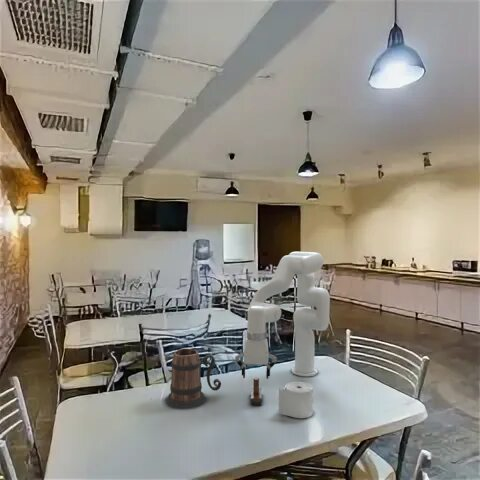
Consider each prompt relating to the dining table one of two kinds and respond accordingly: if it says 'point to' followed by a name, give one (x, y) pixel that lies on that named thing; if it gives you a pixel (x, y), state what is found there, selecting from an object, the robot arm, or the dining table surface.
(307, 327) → the robot arm
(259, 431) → the dining table surface
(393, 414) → the dining table surface
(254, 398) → the brush
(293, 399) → the toilet tissue
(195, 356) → the tankard
